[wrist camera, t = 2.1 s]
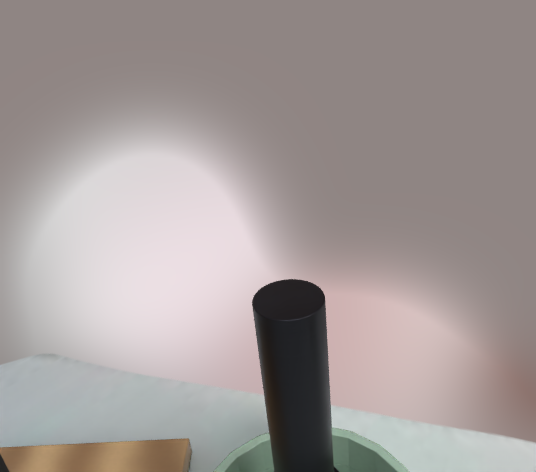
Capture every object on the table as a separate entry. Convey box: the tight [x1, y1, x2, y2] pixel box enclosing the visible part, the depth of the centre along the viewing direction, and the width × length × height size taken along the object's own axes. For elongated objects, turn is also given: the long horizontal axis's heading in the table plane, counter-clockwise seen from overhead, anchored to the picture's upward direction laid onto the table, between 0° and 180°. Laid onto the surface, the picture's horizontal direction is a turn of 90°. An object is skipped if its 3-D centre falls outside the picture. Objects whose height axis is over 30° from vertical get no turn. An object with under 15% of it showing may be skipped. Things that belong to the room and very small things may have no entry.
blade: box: [252, 279, 339, 472], centre depth 25 cm, size 9×9×20 cm
